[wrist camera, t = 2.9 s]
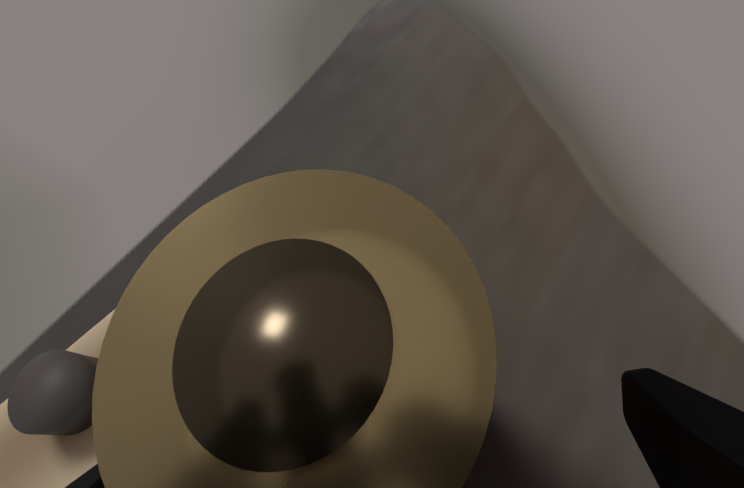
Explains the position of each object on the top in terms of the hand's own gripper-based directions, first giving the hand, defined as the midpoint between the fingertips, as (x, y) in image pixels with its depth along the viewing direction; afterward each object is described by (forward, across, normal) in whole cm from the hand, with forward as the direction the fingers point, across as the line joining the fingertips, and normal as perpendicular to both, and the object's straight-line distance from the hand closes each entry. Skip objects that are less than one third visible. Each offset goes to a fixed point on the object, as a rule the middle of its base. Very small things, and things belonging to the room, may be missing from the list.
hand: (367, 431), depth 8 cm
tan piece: (+6, 0, +5) cm, 8 cm away
